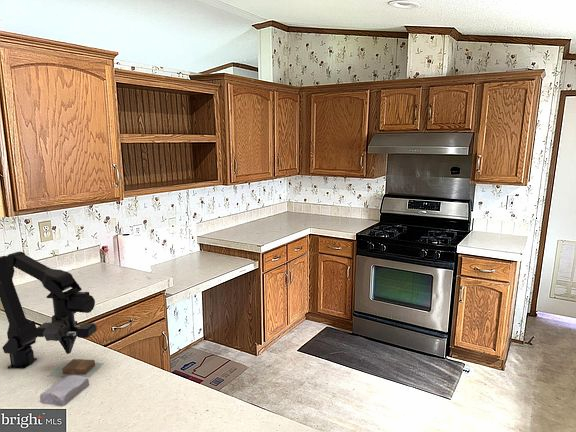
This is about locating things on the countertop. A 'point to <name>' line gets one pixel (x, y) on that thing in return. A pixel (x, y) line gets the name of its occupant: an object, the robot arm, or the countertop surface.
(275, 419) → the countertop surface
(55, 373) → the rubber mat
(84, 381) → the stone block
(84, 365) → the walnut tile
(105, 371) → the countertop surface
